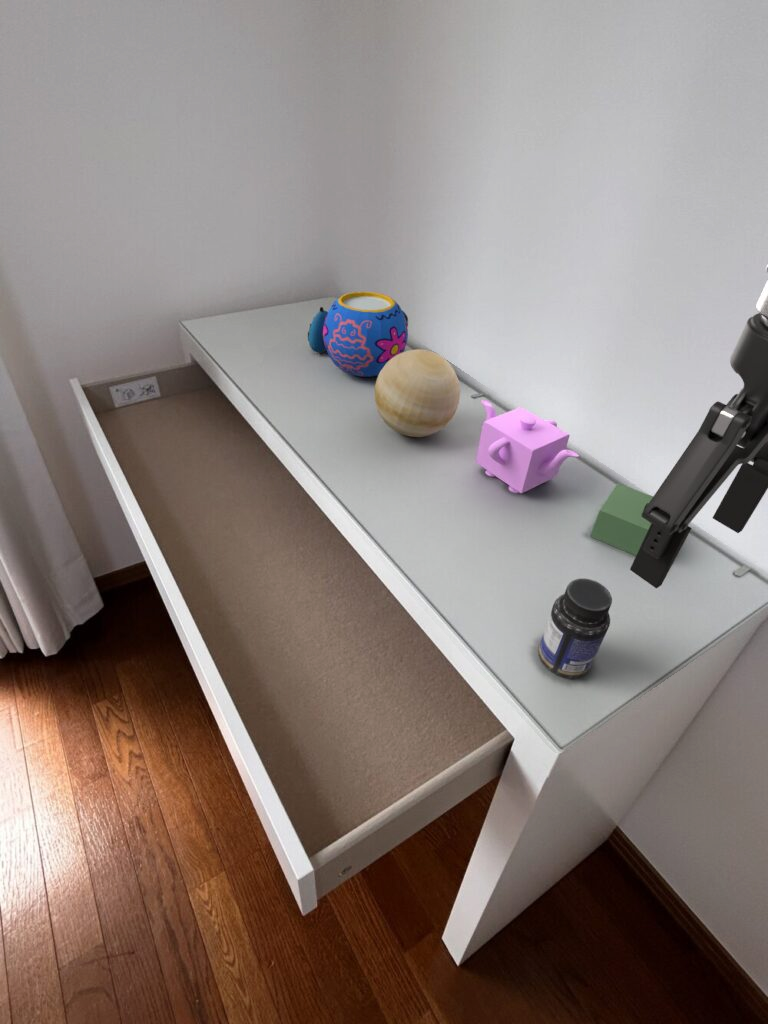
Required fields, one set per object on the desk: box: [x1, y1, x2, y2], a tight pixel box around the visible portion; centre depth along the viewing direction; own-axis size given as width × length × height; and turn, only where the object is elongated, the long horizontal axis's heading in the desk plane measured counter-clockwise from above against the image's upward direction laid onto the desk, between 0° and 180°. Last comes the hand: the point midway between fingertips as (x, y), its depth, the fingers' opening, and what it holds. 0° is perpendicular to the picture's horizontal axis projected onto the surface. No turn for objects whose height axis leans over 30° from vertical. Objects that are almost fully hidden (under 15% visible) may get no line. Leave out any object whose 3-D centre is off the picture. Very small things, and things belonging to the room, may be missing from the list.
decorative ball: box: [374, 348, 461, 438], centre depth 100 cm, size 15×15×15 cm
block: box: [589, 482, 654, 557], centre depth 84 cm, size 8×8×5 cm
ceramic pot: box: [323, 291, 409, 378], centre depth 118 cm, size 18×18×15 cm
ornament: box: [307, 306, 328, 354], centre depth 126 cm, size 8×5×10 cm, turn 152°
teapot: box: [475, 399, 580, 494], centre depth 92 cm, size 15×13×11 cm
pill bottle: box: [537, 578, 613, 679], centre depth 63 cm, size 6×6×11 cm
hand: (688, 549), depth 53 cm, fingers open, 13 cm apart
